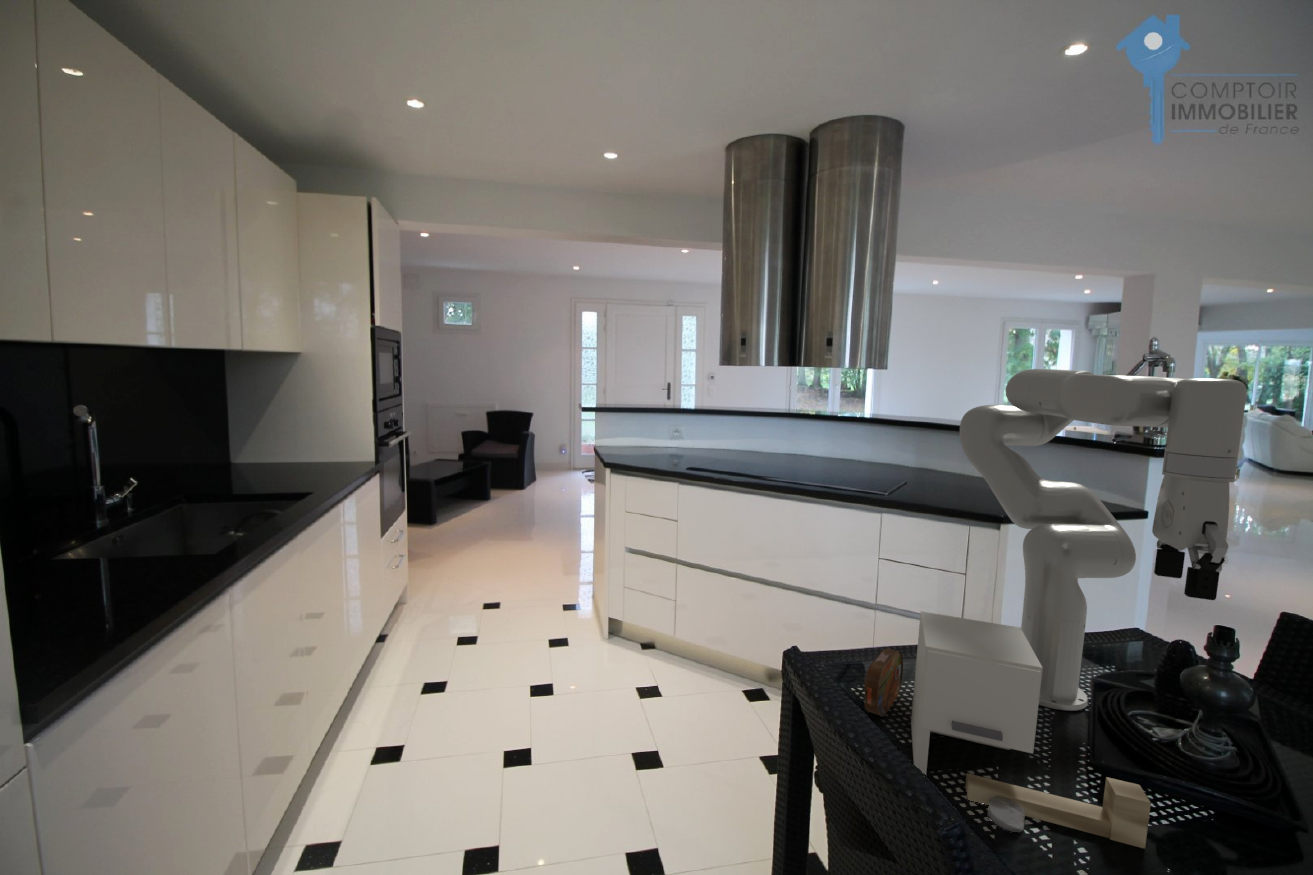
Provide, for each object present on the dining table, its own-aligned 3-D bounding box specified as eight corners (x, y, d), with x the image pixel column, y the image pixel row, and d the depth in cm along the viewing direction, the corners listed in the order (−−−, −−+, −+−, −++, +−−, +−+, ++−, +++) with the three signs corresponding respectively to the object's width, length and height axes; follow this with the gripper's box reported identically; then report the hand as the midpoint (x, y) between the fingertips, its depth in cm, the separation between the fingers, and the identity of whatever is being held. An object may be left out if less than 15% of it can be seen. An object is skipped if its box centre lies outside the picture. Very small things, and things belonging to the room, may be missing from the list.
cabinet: (910, 722, 97) (920, 611, 95) (1008, 744, 92) (1020, 627, 90) (914, 780, 83) (926, 650, 81) (1030, 810, 78) (1045, 673, 76)
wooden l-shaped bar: (965, 785, 82) (969, 745, 82) (1133, 828, 75) (1139, 784, 75) (968, 801, 79) (972, 759, 78) (1144, 848, 72) (1150, 802, 71)
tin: (878, 725, 96) (882, 676, 95) (858, 718, 98) (862, 669, 97) (903, 689, 108) (906, 645, 107) (885, 683, 110) (889, 640, 109)
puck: (984, 807, 78) (986, 793, 78) (1019, 815, 77) (1021, 801, 77) (990, 828, 74) (992, 813, 74) (1027, 837, 73) (1028, 822, 73)
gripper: (1140, 458, 91) (1127, 565, 93) (1194, 473, 75) (1177, 602, 77) (1201, 462, 89) (1187, 573, 90) (1271, 478, 73) (1251, 612, 74)
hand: (1182, 586), depth 84 cm, fingers open, 9 cm apart
